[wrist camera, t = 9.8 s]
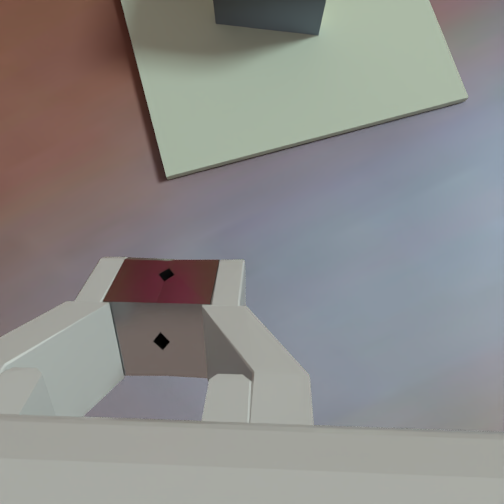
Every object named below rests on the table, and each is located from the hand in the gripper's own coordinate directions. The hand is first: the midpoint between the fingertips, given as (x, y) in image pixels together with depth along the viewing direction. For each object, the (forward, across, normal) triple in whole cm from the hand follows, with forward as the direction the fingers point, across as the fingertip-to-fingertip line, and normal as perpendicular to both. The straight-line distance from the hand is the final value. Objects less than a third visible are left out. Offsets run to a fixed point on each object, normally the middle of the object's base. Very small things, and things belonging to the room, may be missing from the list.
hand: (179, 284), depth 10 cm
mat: (+21, -2, -4) cm, 21 cm away
